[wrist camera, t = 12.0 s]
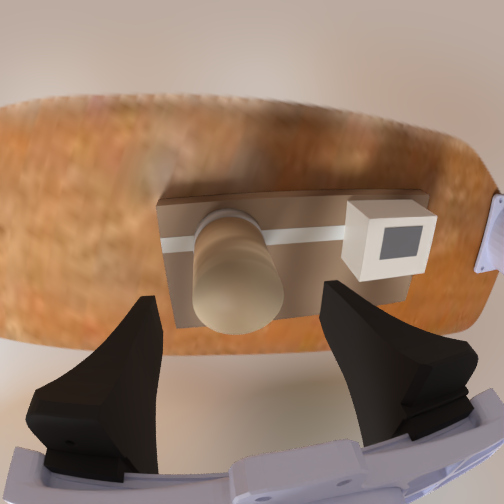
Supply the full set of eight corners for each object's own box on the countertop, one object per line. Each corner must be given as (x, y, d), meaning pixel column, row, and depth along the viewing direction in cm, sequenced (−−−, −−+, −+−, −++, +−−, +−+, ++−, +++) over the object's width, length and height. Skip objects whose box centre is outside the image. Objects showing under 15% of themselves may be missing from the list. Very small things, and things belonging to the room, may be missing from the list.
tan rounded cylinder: (262, 206, 18) (287, 255, 13) (262, 267, 20) (282, 330, 15) (190, 210, 18) (186, 263, 13) (196, 272, 20) (196, 338, 14)
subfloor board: (420, 189, 21) (429, 195, 19) (398, 292, 25) (405, 300, 24) (158, 199, 18) (155, 206, 17) (177, 317, 23) (176, 328, 22)
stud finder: (411, 199, 19) (438, 216, 17) (402, 251, 21) (424, 273, 19) (347, 200, 19) (369, 219, 16) (341, 257, 21) (359, 282, 18)
